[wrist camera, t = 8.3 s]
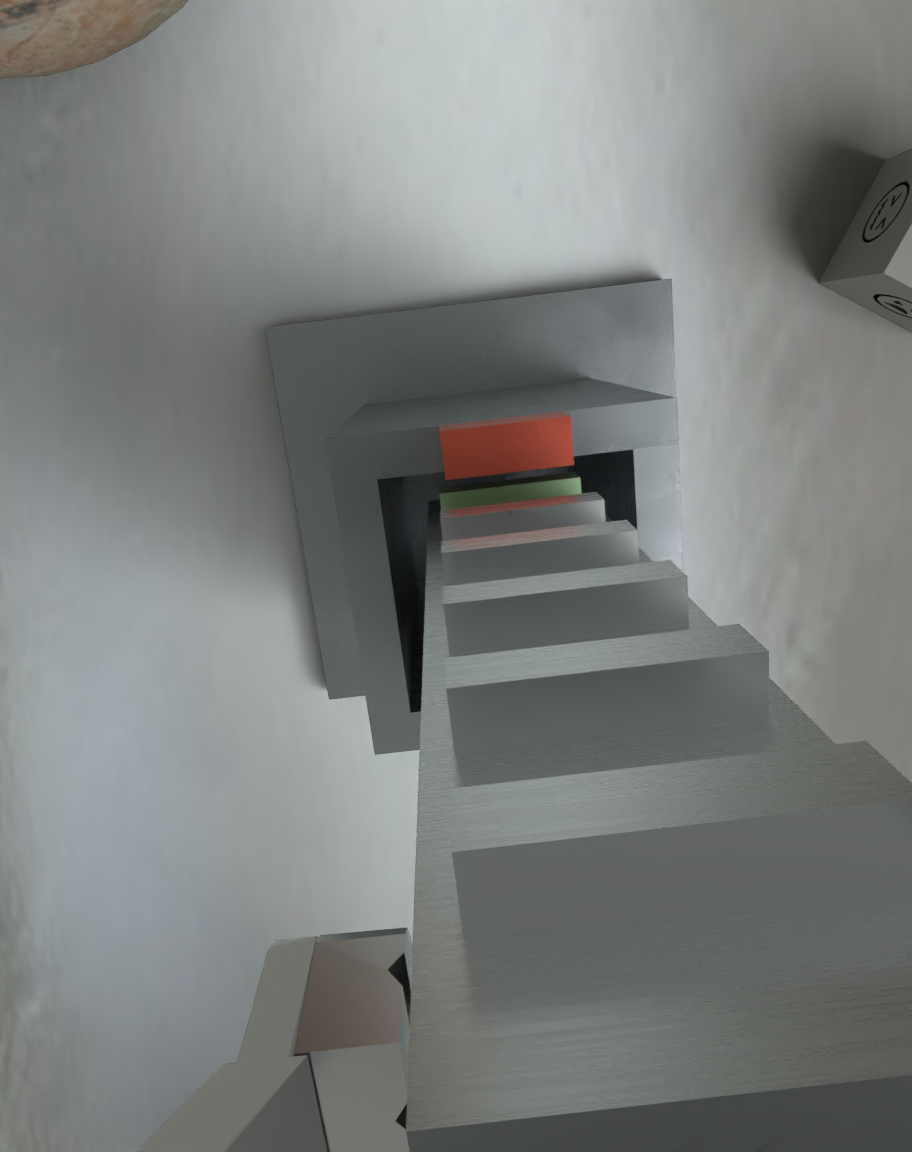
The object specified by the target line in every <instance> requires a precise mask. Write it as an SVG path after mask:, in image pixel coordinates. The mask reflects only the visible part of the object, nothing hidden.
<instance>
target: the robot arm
mask: <svg viewBox="0 0 912 1152" xmlns="http://www.w3.org/2000/svg"><path fill="white" fill-rule="evenodd" d="M412 951H413V949H412V943H411V938H410V933H409V931H408V928H397V929H386V930H374V931H363V932H352V933H341V934H329V935H320V937H316V936H314V937H303V938H293V939H283V940H275V942H274V943H273V944H272V946H271V947H270V948H269V950H268V952H267V955H266V959H265V963H264V966H263V970H262V973H261V977H260V981H259V984H258V988H257V991H256V995H255V999H254V1002H253V1006H252V1009H251V1013H250V1017H249V1020H248V1024H247V1027H246V1031H245V1035H244V1038H243V1042H242V1045H241V1049H240V1053H239V1056H238V1060H237V1063H231V1064H223V1065H222V1066H221V1067H220V1068H219V1069H218V1070H217V1071H216V1072H215V1073H214V1074H213V1075H212V1076H211V1077H210V1078H209V1079H208V1080H207V1081H206V1082H205V1083H204V1084H203V1085H202V1086H201V1087H200V1088H199V1089H198V1090H197V1091H196V1092H195V1093H194V1094H193V1095H192V1096H191V1097H190V1098H189V1099H188V1100H187V1101H186V1102H185V1103H184V1104H183V1105H182V1106H181V1107H180V1108H179V1109H178V1110H177V1111H176V1112H175V1113H174V1114H173V1115H172V1116H171V1117H170V1118H169V1119H168V1120H167V1121H166V1122H165V1123H164V1124H163V1125H162V1126H161V1127H160V1128H159V1129H158V1130H157V1131H156V1132H155V1133H154V1134H153V1135H152V1136H151V1137H150V1138H149V1140H148V1141H147V1142H146V1143H145V1144H144V1145H143V1146H142V1147H141V1148H140V1149H139V1150H138V1151H137V1152H409V1146H408V1140H407V1134H406V1120H407V1092H408V1064H409V1036H410V1007H411V979H412Z"/></svg>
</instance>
